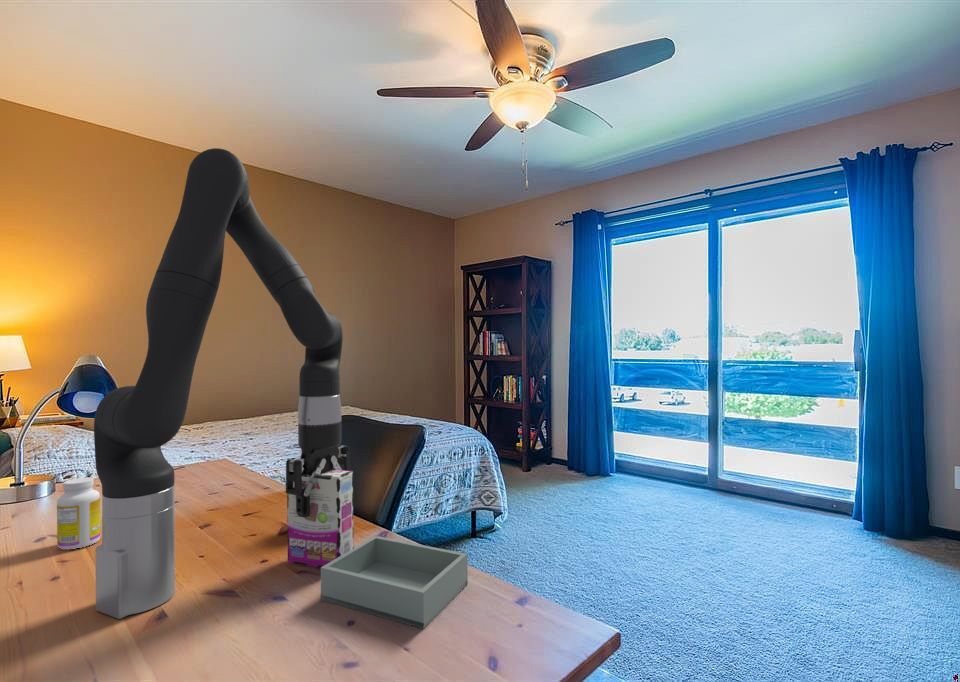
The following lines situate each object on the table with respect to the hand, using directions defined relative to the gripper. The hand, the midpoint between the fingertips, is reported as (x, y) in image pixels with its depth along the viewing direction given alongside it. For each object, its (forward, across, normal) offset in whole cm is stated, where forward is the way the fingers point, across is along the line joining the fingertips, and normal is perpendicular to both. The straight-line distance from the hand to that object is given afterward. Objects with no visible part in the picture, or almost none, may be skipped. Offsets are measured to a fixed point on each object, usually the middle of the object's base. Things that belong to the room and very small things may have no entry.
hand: (320, 509), depth 88 cm
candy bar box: (+10, 0, 0) cm, 10 cm away
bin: (+9, -4, -19) cm, 22 cm away
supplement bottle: (+10, -14, +50) cm, 53 cm away
